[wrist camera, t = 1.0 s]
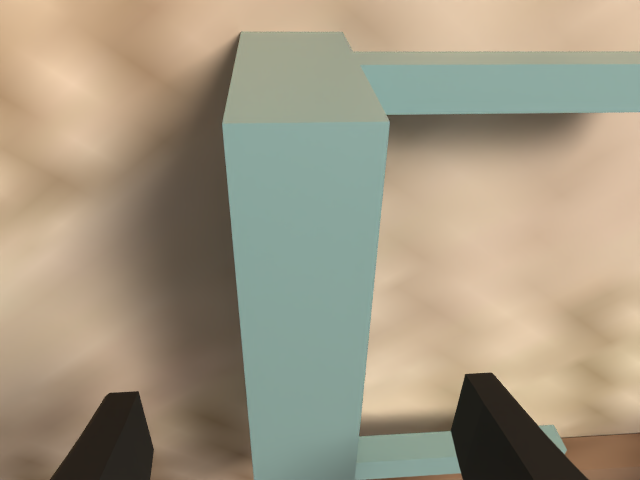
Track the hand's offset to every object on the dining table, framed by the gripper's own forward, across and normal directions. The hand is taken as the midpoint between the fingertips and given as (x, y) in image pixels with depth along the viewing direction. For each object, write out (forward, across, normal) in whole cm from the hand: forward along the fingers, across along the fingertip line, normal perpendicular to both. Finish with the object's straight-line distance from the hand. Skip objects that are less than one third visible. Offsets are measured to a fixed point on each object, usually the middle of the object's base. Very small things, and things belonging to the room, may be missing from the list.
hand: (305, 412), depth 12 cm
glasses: (+5, -4, 0) cm, 7 cm away
